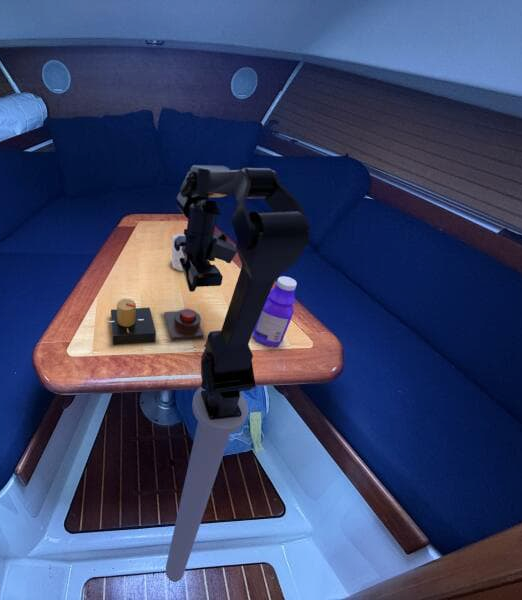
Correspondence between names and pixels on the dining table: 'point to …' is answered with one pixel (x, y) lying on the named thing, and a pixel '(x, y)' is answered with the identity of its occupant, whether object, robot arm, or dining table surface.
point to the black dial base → (134, 328)
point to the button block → (183, 327)
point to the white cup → (176, 255)
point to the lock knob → (126, 312)
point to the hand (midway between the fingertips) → (191, 290)
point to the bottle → (276, 313)
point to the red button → (188, 315)
